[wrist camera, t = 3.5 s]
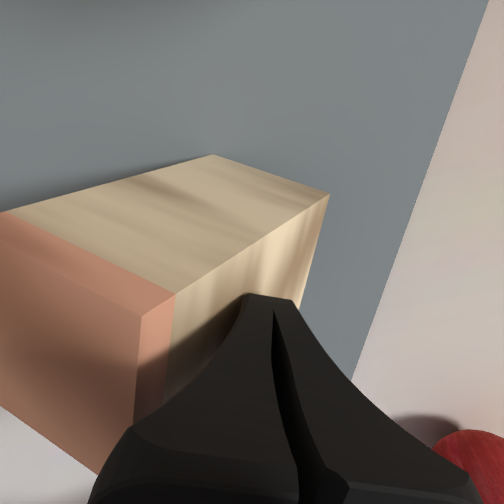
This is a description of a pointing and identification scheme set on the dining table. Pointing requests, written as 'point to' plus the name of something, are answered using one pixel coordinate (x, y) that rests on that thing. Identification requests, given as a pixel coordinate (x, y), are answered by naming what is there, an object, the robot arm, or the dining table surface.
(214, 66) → the slate mat
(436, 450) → the onion
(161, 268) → the beech block
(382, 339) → the dining table surface
